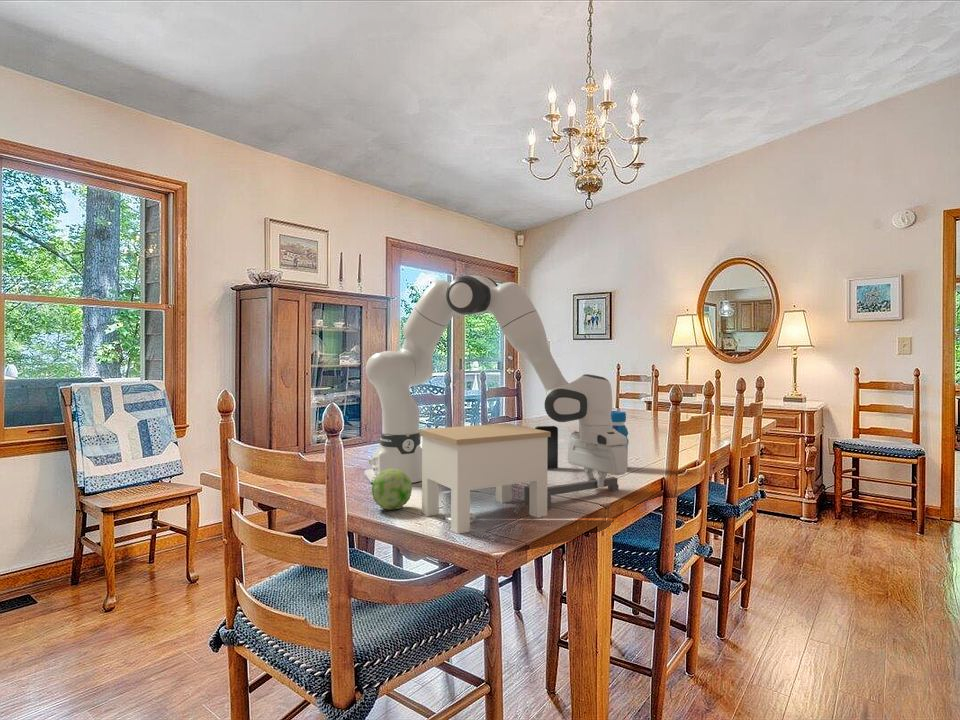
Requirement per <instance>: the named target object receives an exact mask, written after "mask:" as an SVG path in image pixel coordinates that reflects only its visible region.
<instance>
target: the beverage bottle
mask: <svg viewBox="0 0 960 720" xmlns="http://www.w3.org/2000/svg"><path fill="white" fill-rule="evenodd" d="M611 420H612V428H614V429H615V430H616V431H618V432H619V433H621V434H623V435H624V436H626V438H627V443H626V444H624V446H625V447H626V449H627V457H628V458H629V456H628V455H629V454H628V453H629V438H628V435H629V431H628V428H627V427H626V425H625V423H626V422H627V414H626V411H621V410H612V411H611ZM628 470H629V468H627V471H628Z"/></svg>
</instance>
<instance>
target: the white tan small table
mask: <svg viewBox="0 0 960 720" xmlns="http://www.w3.org/2000/svg"><path fill="white" fill-rule="evenodd" d="M419 434H420V436H421V448H422V481H421V514H422V515H425V516H426V517H430V516H436V515H437V516H439V514H440V513H439V512H440V509H439V508H440V504H439V503H440V498H439V497H440V492H439V491H440V486H439V485H442V486H444V487H446V488H448V489H450V513H451V524H450V531H452V532H454V533H455V534H458V535H459V534H465V533H468V532H469V533H470V528H471V523H470V513H471V512H470V511H471V509H470V508H471V505H470V504H471V499H470V498H471V494H470V493H471V490H480V489H487V488H495V501H497V502H499V503H501V504H504V503H507V502H512V500H513V497H512V495H513V494H512V493H513V491H512V489H513V488H512V487H513V486H512V485H515V484H516V485H517V484H522V483H529V486H530V488H529V503H528V506H529V511H528V514H529V515H530V516H532V517H534V518H536V517H537V518H538V517H539V518H543V517H548V509H547V487H548V469H547V448H548V437H551V432H549V431H544V430H539V429H535V428H532V427H527V426H521V425H518V424H512V423H507V422H506V423H491V424H478V425H476V424H475V425H464V426H451V427H449V426H448V427H434V428H421V429H420V428H419ZM542 516H543V517H542Z"/></svg>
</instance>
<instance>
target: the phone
mask: <svg viewBox="0 0 960 720" xmlns="http://www.w3.org/2000/svg"><path fill="white" fill-rule="evenodd" d="M534 429H539V430H544V431H549V432H551V437H548V448H547V470H548V469H549V470H551V469H559V428H558V426H556V425H541V426H539V425H538V426H535V428H534Z"/></svg>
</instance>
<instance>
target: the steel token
mask: <svg viewBox="0 0 960 720" xmlns="http://www.w3.org/2000/svg"><path fill="white" fill-rule="evenodd" d="M444 520H445V523H448V524H450V525H451V512H449V513H447V514H446V515H445V516H444ZM474 521H475V522H476V514H474V513H472V512H470V524H473V523H475V522H474Z"/></svg>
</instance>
